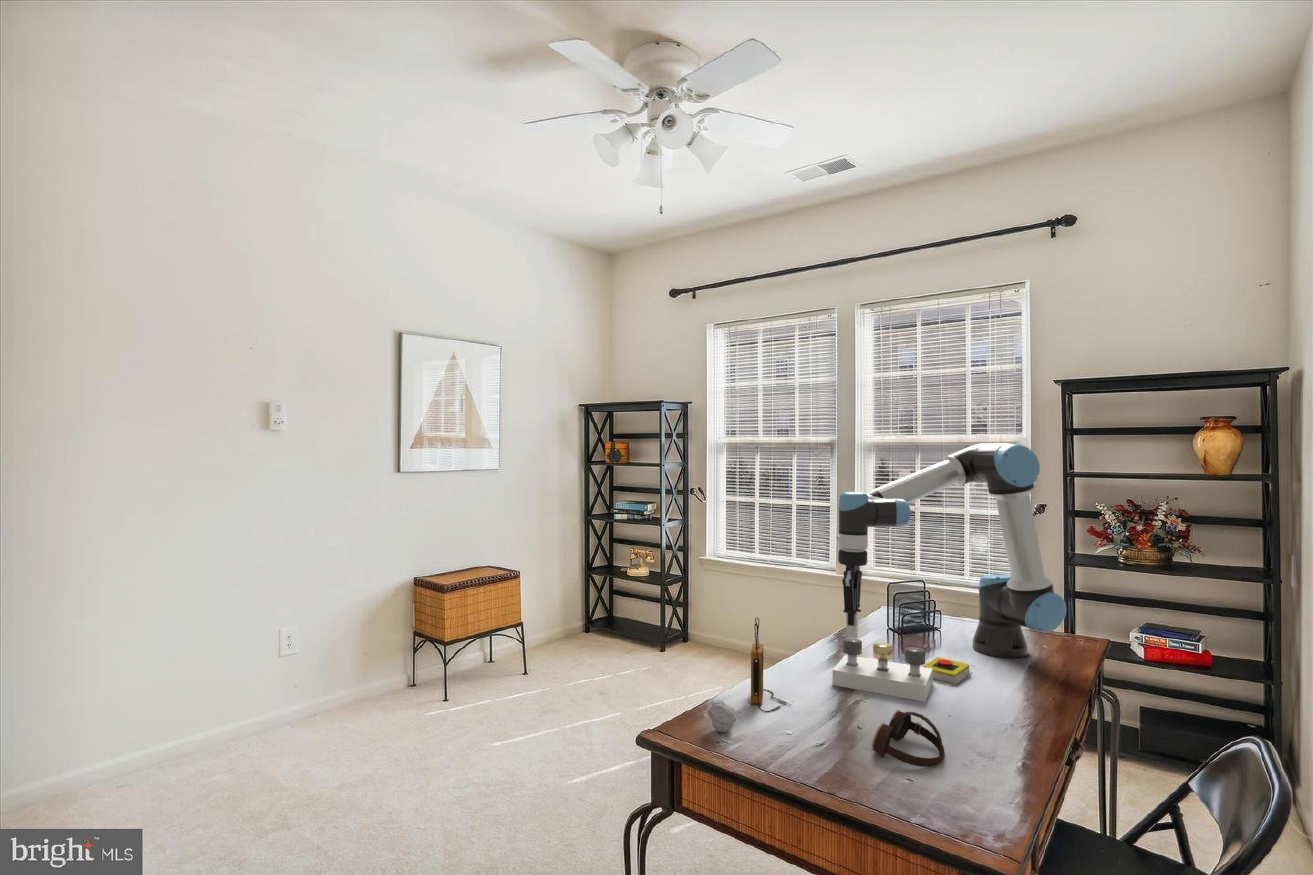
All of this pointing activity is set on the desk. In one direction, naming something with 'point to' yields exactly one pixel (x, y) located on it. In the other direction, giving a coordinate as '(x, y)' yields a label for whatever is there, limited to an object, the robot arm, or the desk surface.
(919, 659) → the knob near
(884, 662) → the knob middle
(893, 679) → the mount plate
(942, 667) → the emergency button
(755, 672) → the multimeter
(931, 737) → the goggles
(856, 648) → the knob far
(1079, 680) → the desk surface
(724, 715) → the crumpled paper ball
